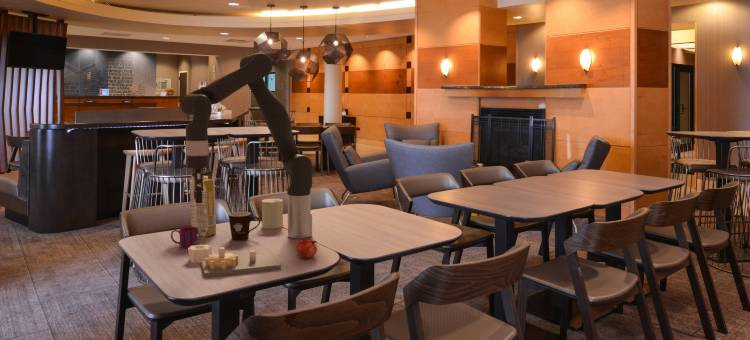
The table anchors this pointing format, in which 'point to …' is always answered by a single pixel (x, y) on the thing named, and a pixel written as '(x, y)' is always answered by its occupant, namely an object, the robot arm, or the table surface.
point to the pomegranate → (306, 248)
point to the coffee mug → (240, 225)
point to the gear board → (238, 263)
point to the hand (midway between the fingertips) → (198, 200)
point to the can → (272, 213)
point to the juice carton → (204, 209)
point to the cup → (187, 237)
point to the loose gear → (199, 253)
